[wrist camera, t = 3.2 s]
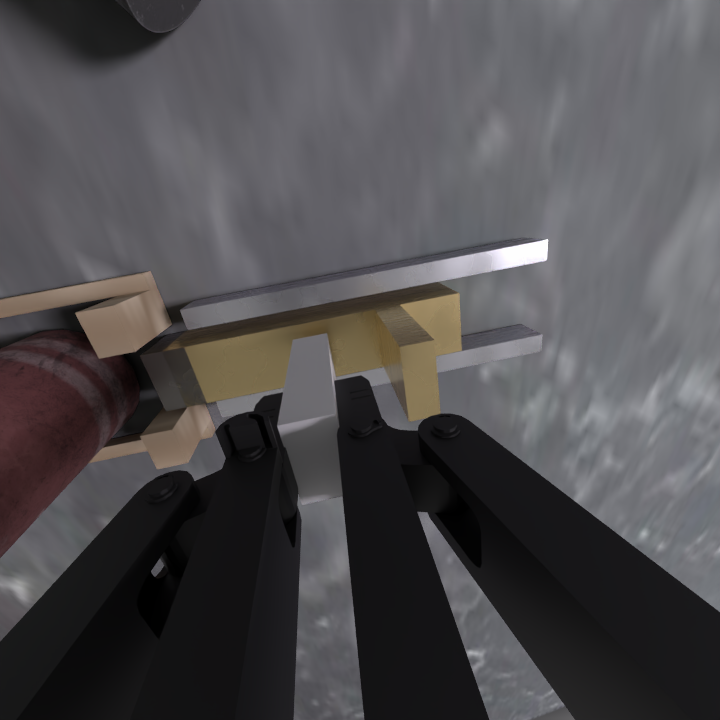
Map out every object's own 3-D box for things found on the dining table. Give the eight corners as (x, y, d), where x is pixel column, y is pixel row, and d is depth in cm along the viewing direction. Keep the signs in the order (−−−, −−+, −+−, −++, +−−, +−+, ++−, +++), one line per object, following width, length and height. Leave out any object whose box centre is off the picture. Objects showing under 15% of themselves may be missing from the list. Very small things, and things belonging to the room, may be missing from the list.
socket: (-81, 313, 16) (-198, 341, 12) (150, 271, 17) (103, 285, 13) (30, 468, 20) (-34, 524, 16) (215, 429, 20) (193, 475, 17)
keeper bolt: (166, 334, 18) (64, 415, 11) (437, 282, 19) (517, 323, 11) (187, 383, 19) (108, 486, 12) (441, 332, 20) (515, 398, 13)
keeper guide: (193, 300, 17) (179, 310, 16) (524, 237, 18) (547, 239, 16) (230, 399, 20) (222, 417, 18) (521, 339, 21) (541, 351, 19)
